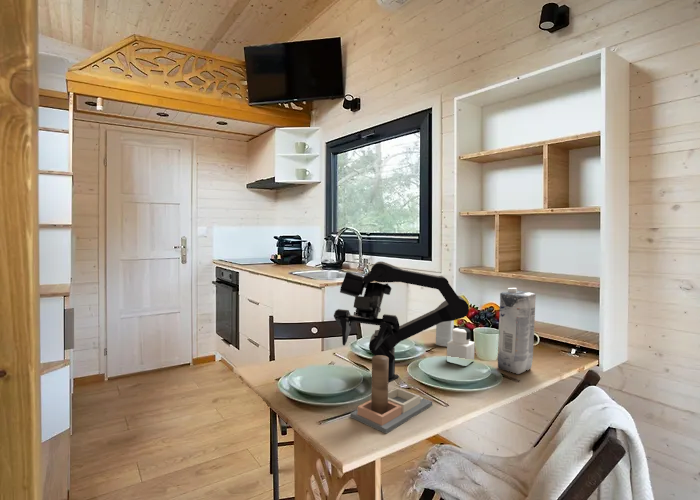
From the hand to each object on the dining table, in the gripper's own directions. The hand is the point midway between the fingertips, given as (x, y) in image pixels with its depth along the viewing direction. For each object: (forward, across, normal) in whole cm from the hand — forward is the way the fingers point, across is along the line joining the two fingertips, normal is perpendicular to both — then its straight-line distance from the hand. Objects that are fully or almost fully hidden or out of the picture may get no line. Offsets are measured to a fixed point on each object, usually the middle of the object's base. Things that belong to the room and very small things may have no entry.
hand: (358, 347), depth 111 cm
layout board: (+14, +12, +4) cm, 19 cm away
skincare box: (-30, +16, +49) cm, 60 cm away
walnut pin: (+17, +10, 0) cm, 19 cm away
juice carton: (-18, +42, +37) cm, 58 cm away
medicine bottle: (-17, +24, +36) cm, 47 cm away
